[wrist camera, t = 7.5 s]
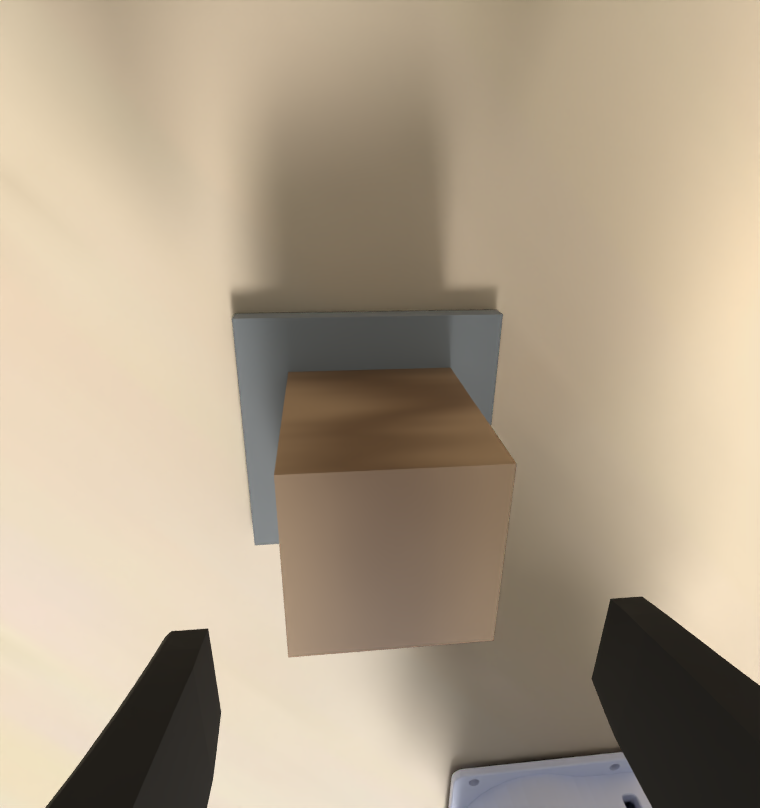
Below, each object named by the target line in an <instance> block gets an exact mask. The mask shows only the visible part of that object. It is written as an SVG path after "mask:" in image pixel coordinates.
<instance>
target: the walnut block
mask: <svg viewBox="0 0 760 808" xmlns="http://www.w3.org/2000/svg"><path fill="white" fill-rule="evenodd" d="M515 470H516V463H515V461H514V460H513V458H512V457H511V455H510V454H509V452H508V451H507V449H506V448H505V446H504V445H503V444H502V442H501V441H500V439H499V438H498V436H497V435H496V433H495V432H494V430H493V429H492V427H491V426H490V424H489V423H488V422H487V420H486V419H485V417H484V416H483V414H482V413H481V411H480V410H479V408H478V407H477V405H476V404H475V403H474V401H473V400H472V398H471V397H470V395H469V394H468V392H467V391H466V389H465V388H464V386H463V385H462V384H461V382H460V381H459V379H458V378H457V376H456V375H455V373H454V372H453V370H452V369H451V368H414V369H378V370H341V371H304V372H288V377H287V384H286V392H285V399H284V406H283V413H282V420H281V428H280V435H279V442H278V449H277V456H276V464H275V471H274V483H275V495H276V508H277V521H278V533H279V546H280V558H281V571H282V583H283V596H284V609H285V621H286V634H287V646H288V657H299V656H311V655H324V654H336V653H348V652H360V651H372V650H384V649H397V648H409V647H421V646H433V645H445V644H457V643H470V642H482V641H493V640H494V633H495V625H496V617H497V609H498V602H499V594H500V586H501V579H502V571H503V563H504V555H505V548H506V540H507V532H508V524H509V517H510V509H511V501H512V493H513V486H514V478H515Z"/></svg>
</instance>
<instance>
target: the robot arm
mask: <svg viewBox="0 0 760 808" xmlns="http://www.w3.org/2000/svg"><path fill="white" fill-rule="evenodd" d="M592 681H593V684H594V686H595V689H596V691H597V694H598V696H599V699H600V702H601V704H602V707H603V709H604V712H605V714H606V717H607V719H608V722H609V724H610V726H611V729H612V731H613V733H614V736H615V738H616V740H617V742H618V744H619V746H620V748H621V750H622V752H616V753H607V754H598V755H588V756H579V757H569V758H560V759H551V760H541V761H532V762H523V763H513V764H504V765H494V766H485V767H476V768H466V769H460V770H457V771H455V772H454V773H453V775H452V778H451V787H450V797H449V807H448V808H760V685H758V684H757V683H756V682H754V681H753V680H751V679H750V678H749V677H747V676H746V675H745V674H743V673H742V672H741V671H740V670H738V669H737V668H736V667H734V666H733V665H732V664H730V663H729V662H728V661H726V660H725V659H724V658H722V657H721V656H720V655H718V654H717V653H716V652H715V651H713V650H712V649H711V648H709V647H708V646H707V645H705V644H704V643H703V642H702V641H700V640H699V639H698V638H696V637H695V636H694V635H692V634H691V633H690V632H689V631H687V630H686V629H685V628H683V627H682V626H681V625H679V624H678V623H677V622H676V621H674V620H673V619H672V618H670V617H669V616H668V615H666V614H665V613H664V612H662V611H661V610H660V609H658V608H657V607H656V606H654V605H653V604H652V603H650V602H649V601H647V600H646V599H645V598H643V597H630V598H617V599H610V603H609V608H608V612H607V616H606V620H605V625H604V629H603V633H602V637H601V642H600V646H599V650H598V654H597V659H596V663H595V667H594V671H593V675H592ZM220 717H221V709H220V702H219V696H218V689H217V683H216V676H215V670H214V663H213V657H212V650H211V644H210V637H209V631H208V629H197V630H183V631H171V632H170V633H169V634H168V635H167V636H166V637H165V638H164V640H163V641H162V643H161V645H160V646H159V648H158V649H157V651H156V653H155V654H154V656H153V657H152V659H151V660H150V662H149V664H148V665H147V667H146V668H145V670H144V671H143V673H142V674H141V676H140V677H139V679H138V680H137V682H136V683H135V685H134V687H133V688H132V689H131V691H130V692H129V694H128V695H127V697H126V698H125V700H124V701H123V703H122V704H121V706H120V707H119V709H118V710H117V712H116V713H115V714H114V716H113V717H112V719H111V720H110V721H109V723H108V724H107V726H106V727H105V728H104V730H103V731H102V733H101V734H100V735H99V737H98V738H97V740H96V741H95V742H94V744H93V745H92V747H91V748H90V749H89V751H88V752H87V754H86V755H85V756H84V758H83V759H82V761H81V762H80V763H79V765H78V766H77V767H76V769H75V770H74V771H73V773H72V774H71V775H70V777H69V778H68V779H67V781H66V782H65V783H64V784H63V786H62V787H61V788H60V790H59V791H58V792H57V793H56V795H55V796H54V797H53V799H52V800H51V801H50V802H49V804H48V805H47V806H46V808H207V804H208V800H209V795H210V791H211V786H212V781H213V774H214V767H215V759H216V751H217V743H218V734H219V726H220Z"/></svg>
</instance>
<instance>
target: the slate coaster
mask: <svg viewBox="0 0 760 808" xmlns="http://www.w3.org/2000/svg"><path fill="white" fill-rule="evenodd" d="M502 317H503V314H502V313H500V312H499V311H498V310H442V311H375V312H307V313H239V314H234V316H233V318H232V323H233V333H234V343H235V353H236V363H237V373H238V383H239V393H240V403H241V413H242V423H243V432H244V442H245V452H246V462H247V472H248V482H249V492H250V502H251V512H252V522H253V532H254V541H255V545H266V544H279V533H278V521H277V508H276V495H275V483H274V471H275V464H276V456H277V449H278V442H279V435H280V428H281V420H282V413H283V406H284V399H285V392H286V384H287V377H288V372H304V371H341V370H378V369H414V368H451V369H452V370H453V372H454V373H455V375H456V376H457V378H458V379H459V381H460V382H461V384H462V385H463V386H464V388H465V389H466V391H467V392H468V394H469V395H470V397H471V398H472V400H473V401H474V403H475V404H476V405H477V407H478V408H479V410H480V411H481V413H482V414H483V416H484V417H485V419H486V420H487V422H488V423H489V424H490V426H491V422H492V412H493V403H494V393H495V384H496V374H497V365H498V355H499V346H500V336H501V327H502Z"/></svg>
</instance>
